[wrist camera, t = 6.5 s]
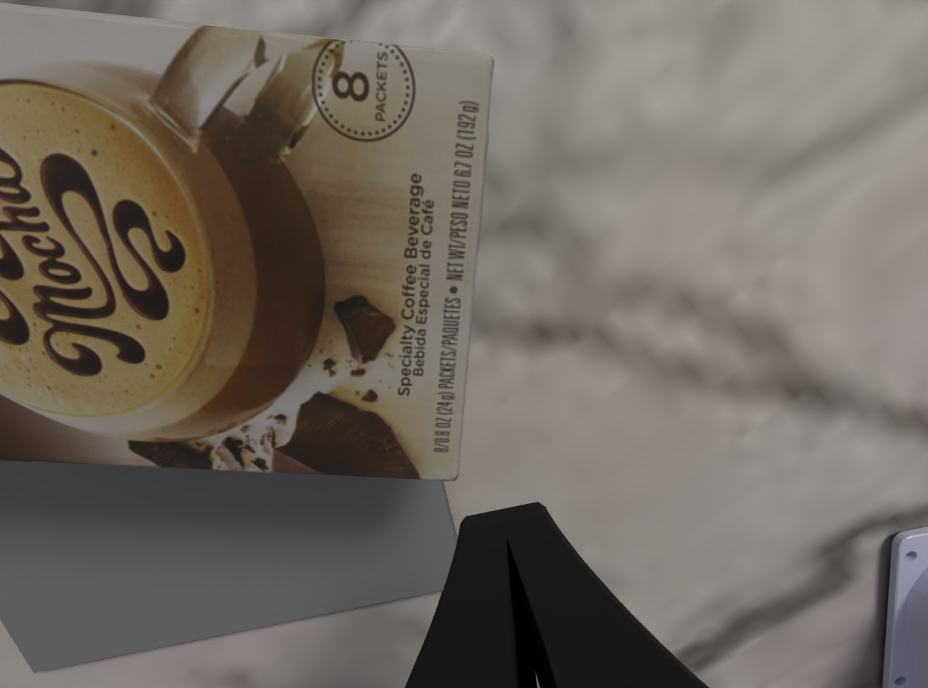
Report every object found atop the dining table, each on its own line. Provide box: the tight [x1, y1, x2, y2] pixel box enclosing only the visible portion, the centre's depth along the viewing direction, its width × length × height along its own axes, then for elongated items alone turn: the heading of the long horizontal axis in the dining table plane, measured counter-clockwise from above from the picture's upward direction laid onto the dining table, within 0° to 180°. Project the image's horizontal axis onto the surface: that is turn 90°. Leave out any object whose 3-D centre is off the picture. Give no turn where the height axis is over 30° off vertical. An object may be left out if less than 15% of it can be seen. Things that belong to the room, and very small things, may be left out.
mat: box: [0, 460, 458, 673], centre depth 18 cm, size 18×18×1 cm
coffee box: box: [0, 3, 494, 481], centre depth 13 cm, size 9×6×16 cm
